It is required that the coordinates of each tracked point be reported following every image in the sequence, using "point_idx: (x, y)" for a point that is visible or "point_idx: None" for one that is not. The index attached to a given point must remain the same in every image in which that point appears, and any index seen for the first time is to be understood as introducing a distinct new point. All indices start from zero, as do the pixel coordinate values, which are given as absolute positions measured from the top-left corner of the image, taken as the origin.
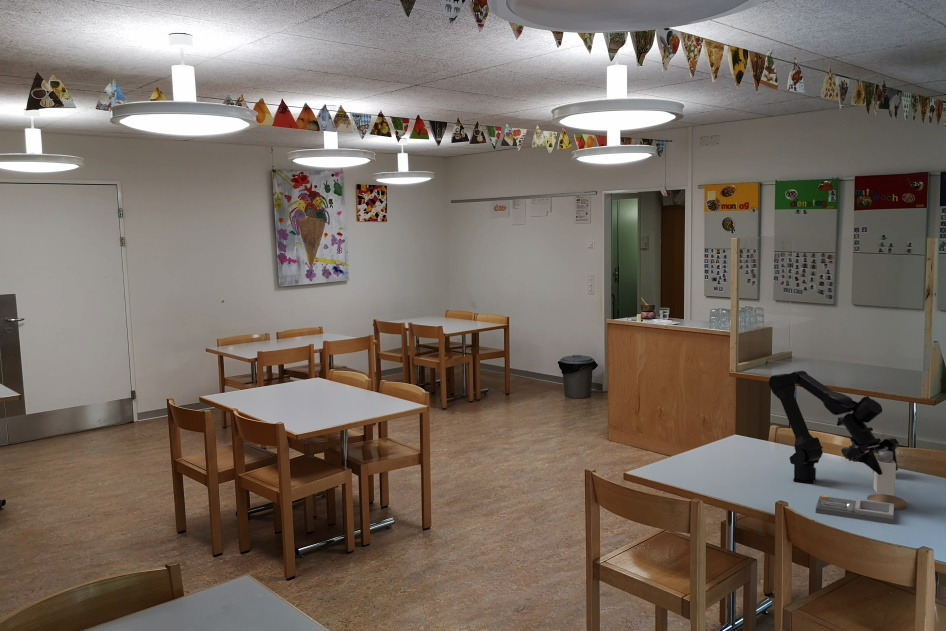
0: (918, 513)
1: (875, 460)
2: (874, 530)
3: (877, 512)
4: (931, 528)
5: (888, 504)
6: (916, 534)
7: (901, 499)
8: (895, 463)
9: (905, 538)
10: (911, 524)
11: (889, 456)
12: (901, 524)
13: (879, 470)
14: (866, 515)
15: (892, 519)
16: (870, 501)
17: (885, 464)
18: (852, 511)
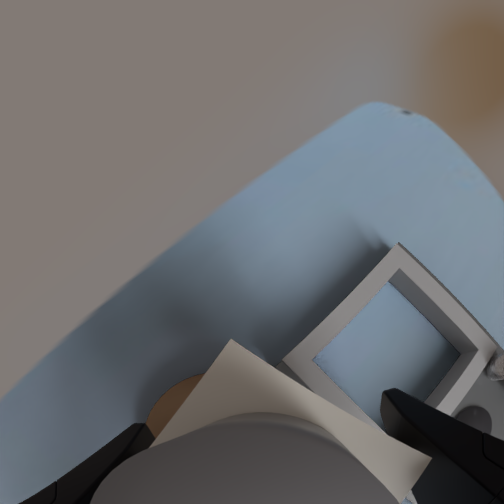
0: (199, 306)
1: (497, 450)
2: (478, 229)
3: (439, 287)
4: (287, 179)
5: (314, 363)
6: (374, 162)
7: (154, 427)
8: (216, 362)
9: (424, 155)
10: (326, 226)
11: (288, 426)
12: (363, 239)
13: (418, 403)
14: (466, 310)
15: (399, 243)
16: (369, 423)
17: (350, 416)
18: (493, 356)
